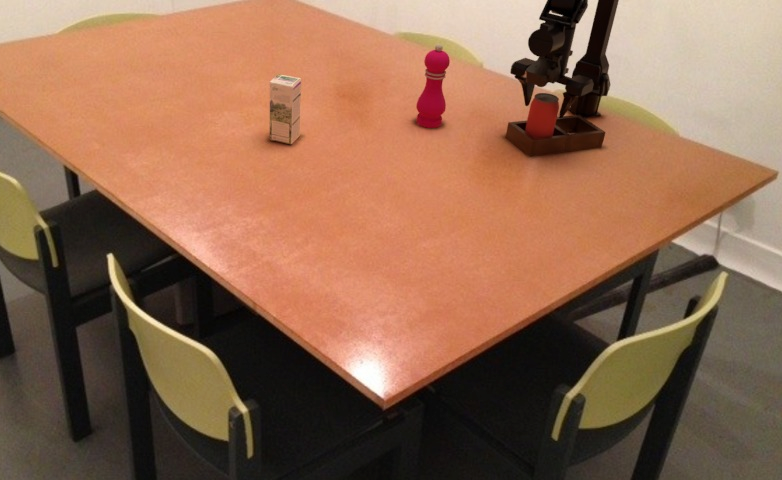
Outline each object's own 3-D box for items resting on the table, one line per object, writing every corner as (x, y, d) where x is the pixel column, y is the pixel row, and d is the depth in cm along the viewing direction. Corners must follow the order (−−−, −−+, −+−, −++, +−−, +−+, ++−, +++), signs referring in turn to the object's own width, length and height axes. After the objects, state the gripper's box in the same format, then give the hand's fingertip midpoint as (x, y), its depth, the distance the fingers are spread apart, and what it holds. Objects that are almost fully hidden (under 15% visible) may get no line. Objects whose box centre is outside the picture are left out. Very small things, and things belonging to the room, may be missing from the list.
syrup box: (300, 136, 183) (302, 77, 175) (291, 145, 179) (292, 85, 170) (278, 131, 185) (279, 72, 176) (268, 141, 180) (268, 81, 172)
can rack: (575, 129, 196) (578, 114, 193) (601, 147, 187) (605, 132, 185) (505, 137, 189) (508, 122, 187) (529, 156, 181) (532, 140, 178)
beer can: (519, 138, 189) (529, 91, 182) (545, 138, 190) (556, 92, 183) (527, 150, 184) (537, 102, 177) (553, 150, 184) (564, 102, 177)
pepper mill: (441, 130, 190) (453, 50, 179) (412, 126, 191) (422, 47, 180) (444, 119, 196) (455, 41, 185) (416, 115, 197) (425, 37, 186)
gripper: (503, 42, 173) (491, 107, 182) (576, 65, 163) (560, 133, 172) (530, 33, 180) (517, 96, 189) (602, 54, 170) (585, 120, 179)
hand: (543, 111), depth 182 cm, fingers open, 9 cm apart
